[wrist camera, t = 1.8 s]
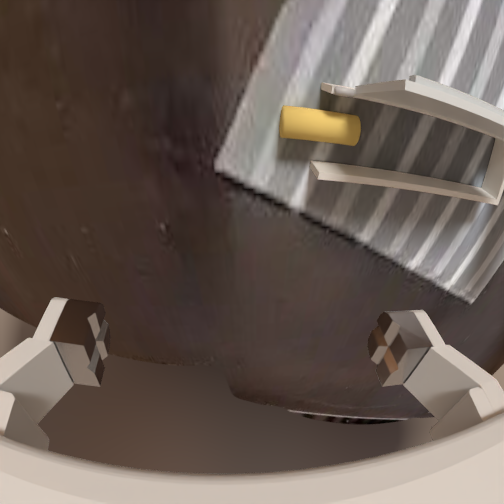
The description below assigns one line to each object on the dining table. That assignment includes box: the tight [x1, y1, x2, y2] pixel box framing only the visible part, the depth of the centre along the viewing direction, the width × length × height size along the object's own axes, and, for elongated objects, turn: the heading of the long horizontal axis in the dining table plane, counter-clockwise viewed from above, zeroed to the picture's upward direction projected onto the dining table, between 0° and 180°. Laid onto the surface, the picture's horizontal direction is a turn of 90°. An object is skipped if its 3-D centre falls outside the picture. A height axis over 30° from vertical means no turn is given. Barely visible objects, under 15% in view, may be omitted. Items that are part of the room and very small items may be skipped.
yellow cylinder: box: [279, 106, 361, 146], centre depth 28 cm, size 7×3×3 cm
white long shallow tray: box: [310, 83, 504, 205], centre depth 28 cm, size 25×9×4 cm, turn 86°
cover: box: [355, 75, 504, 138], centre depth 21 cm, size 20×8×1 cm
